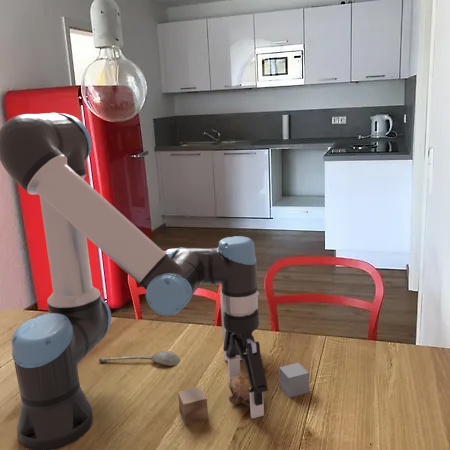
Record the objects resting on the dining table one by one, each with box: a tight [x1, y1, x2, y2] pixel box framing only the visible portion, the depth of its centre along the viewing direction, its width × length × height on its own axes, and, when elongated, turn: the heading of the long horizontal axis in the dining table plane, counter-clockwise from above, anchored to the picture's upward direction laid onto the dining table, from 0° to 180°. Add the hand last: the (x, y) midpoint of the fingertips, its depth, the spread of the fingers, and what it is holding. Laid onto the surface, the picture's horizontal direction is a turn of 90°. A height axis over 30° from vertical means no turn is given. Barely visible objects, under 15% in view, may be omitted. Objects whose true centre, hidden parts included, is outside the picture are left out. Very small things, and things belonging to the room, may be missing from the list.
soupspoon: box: [98, 350, 181, 367], centre depth 129 cm, size 22×3×7 cm
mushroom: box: [228, 374, 251, 407], centre depth 108 cm, size 8×8×6 cm
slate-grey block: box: [278, 362, 310, 398], centre depth 111 cm, size 5×5×5 cm
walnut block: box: [177, 386, 209, 426], centre depth 104 cm, size 5×5×5 cm
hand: (245, 398), depth 108 cm, fingers open, 13 cm apart
